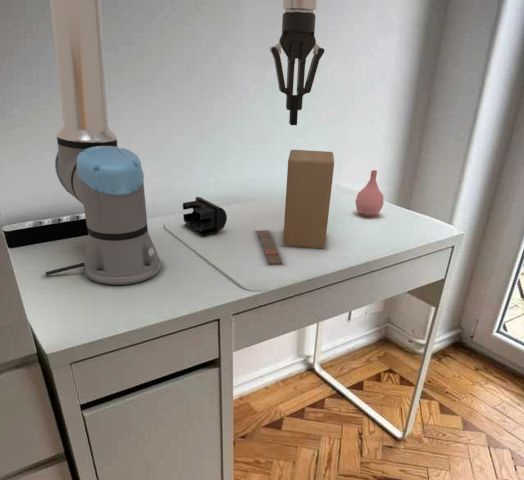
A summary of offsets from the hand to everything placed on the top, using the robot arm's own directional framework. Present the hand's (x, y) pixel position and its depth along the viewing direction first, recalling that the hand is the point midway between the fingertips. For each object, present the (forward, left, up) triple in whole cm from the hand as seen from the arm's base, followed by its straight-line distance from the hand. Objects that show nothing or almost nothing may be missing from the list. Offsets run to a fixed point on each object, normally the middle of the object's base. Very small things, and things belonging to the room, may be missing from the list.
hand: (293, 124), depth 126 cm
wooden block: (-3, -20, -23) cm, 31 cm away
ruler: (-13, -22, -23) cm, 34 cm away
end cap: (-25, -7, -23) cm, 35 cm away
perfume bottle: (+22, -6, -23) cm, 33 cm away
